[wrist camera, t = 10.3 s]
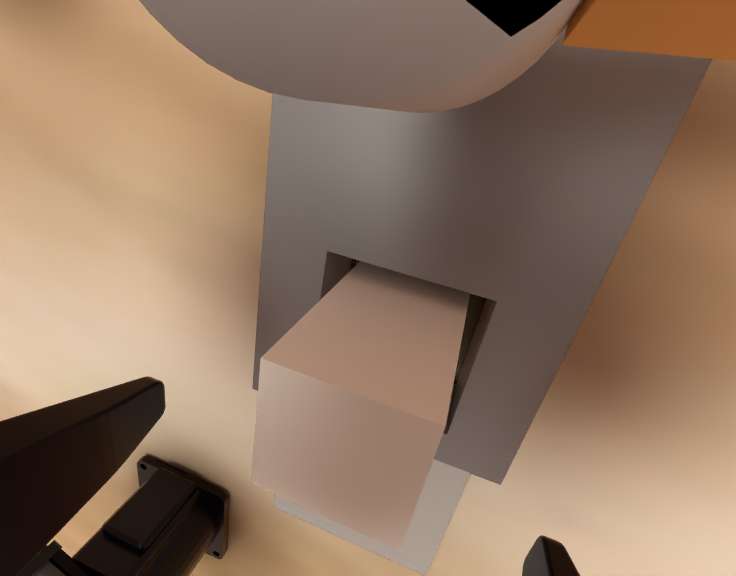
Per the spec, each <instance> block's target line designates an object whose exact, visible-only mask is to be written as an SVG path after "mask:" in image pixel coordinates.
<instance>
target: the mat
mask: <svg viewBox="0 0 736 576" xmlns="http://www.w3.org/2000/svg"><path fill="white" fill-rule="evenodd" d="M470 474H471V473H469V472H466V471H463V470H461V469H458V468H456V467H453V466H451V465H448V464H445V463H443V462H440V461H438V460H435V459H433V462H432V465H431V468H430V470H429V473H428V476H427V478H426V481H425V484H424V487H423V489H422V492H421V495H420V497H419V500H418V503H417V506H416V508H415V511H414V514H413V516H412V519H411V522H410V525H409V527H408V530H407V533H406V535H405V538H404V541H403V544H402V546H401V549H400V550H398V549H396V548H394V547H391V546H389V545H387V544H385V543H382V542H380V541H378V540H376V539H373V538H371V537H369V536H367V535H364V534H362V533H360V532H358V531H355V530H353V529H351V528H349V527H346V526H344V525H342V524H340V523H337V522H335V521H333V520H331V519H328V518H326V517H324V516H322V515H319V514H317V513H315V512H313V511H310V510H308V509H306V508H304V507H301V506H299V505H297V504H295V503H292V502H290V501H288V500H286V499H283V498H281V497H279V496H277V495H275V504H274V508H276V509H278V510H281V511H283V512H285V513H287V514H289V515H292V516H294V517H296V518H298V519H301V520H303V521H305V522H307V523H309V524H312V525H314V526H316V527H318V528H320V529H323V530H325V531H327V532H329V533H332V534H334V535H336V536H338V537H340V538H343V539H345V540H347V541H349V542H351V543H354V544H356V545H358V546H360V547H362V548H365V549H367V550H369V551H371V552H374V553H376V554H378V555H380V556H382V557H385V558H387V559H389V560H391V561H393V562H396V563H398V564H400V565H402V566H404V567H407V568H409V569H411V570H413V571H416V572H418V573H420V574H422V575H424V576H426V574H427V572H428V570H429V567H430V565H431V563H432V560H433V558H434V556H435V554H436V551H437V549H438V547H439V544H440V542H441V540H442V538H443V535H444V533H445V531H446V528H447V526H448V524H449V522H450V519H451V517H452V515H453V512H454V510H455V508H456V506H457V503H458V501H459V499H460V496H461V494H462V492H463V490H464V487H465V485H466V483H467V481H468V478H469V476H470Z"/></svg>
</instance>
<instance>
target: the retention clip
mask: <svg viewBox="0 0 736 576" xmlns="http://www.w3.org/2000/svg"><path fill="white" fill-rule="evenodd" d="M140 2H141V3H142V4H143V5H144V6H145V8H146V9H147V10H148V11H149V13H150V14H151V15H152V16H153V17H154V18H155V19H156V20H157V21H158V22H159V23H160V24H161V25H162V26H163V27H164V28H165V29H166V30H167V31H168V32H169V33H170V34H171V35H172V36H173V37H174V38H175V39H177V40H178V41H179V42H180V43H181V44H183V45H184V46H185V47H186V48H188V49H189V50H190V51H192V52H193V53H194V54H196V55H197V56H198V57H200V58H201V59H202V60H204V61H205V62H206V63H208V64H209V65H211V66H213V67H215V68H217V69H218V70H220V71H222V72H224V73H225V74H227V75H229V76H231V77H232V78H234V79H236V80H238V81H241V82H243V83H246V84H248V85H251V86H254V87H256V88H259V89H261V90H264V91H266V92H269V93H274V94H278V95H283V96H288V97H292V98H297V99H301V100H309V101H318V102H326V103H335V104H343V105H352V106H360V107H369V108H377V109H386V110H395V111H403V112H417V113H429V112H441V111H446V110H451V109H455V108H460V107H463V106H466V105H468V104H471V103H474V102H477V101H479V100H482V99H483V98H485V97H487V96H489V95H491V94H493V93H495V92H497V91H499V90H500V89H502V88H503V87H505V86H506V85H508V84H509V83H511V82H512V81H514V80H515V79H517V78H518V77H519V76H520V75H522V74H523V73H524V72H525V71H526V70H527V69H529V68H530V67H531V66H532V65H533V64H534V63H536V62H537V61H538V60H539V59H540V57H541V56H542V55H543V54H544V53H545V52H546V51H547V50H548V49H549V48H550V47H551V46H552V45H553V44H554V42H555V41H556V40H557V39H558V37H559V36H560V35H561V33H562V32H563V31H564V29H565V28H566V27H567V28H566V32H565V35H564V39H563V42H562V45H564V46H575V47H586V48H597V49H609V50H620V51H631V52H642V53H653V54H665V55H676V56H687V57H698V58H709V59H720V60H732V61H736V0H140Z"/></svg>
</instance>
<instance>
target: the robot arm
mask: <svg viewBox="0 0 736 576" xmlns="http://www.w3.org/2000/svg"><path fill="white" fill-rule="evenodd" d="M164 410H165V390H164V384H163V382H161V381H159V380H157V379H154V378H152V377H143V378H140V379H136V380H133V381H130V382H127V383H123V384H120V385H117V386H114V387H110V388H107V389H104V390H101V391H97V392H94V393H91V394H87V395H84V396H81V397H78V398H74V399H71V400H68V401H65V402H61V403H58V404H55V405H52V406H48V407H45V408H42V409H39V410H35V411H32V412H29V413H26V414H22V415H19V416H16V417H13V418H9V419H6V420H3V421H0V576H189V575H190V574H191V572H192V571H193V569H194V568H195V567H196V565H197V564H198V562H199V561H200V559H201V558H202V556H203V555H204V554H205V553H207V554H209V555H211V556H213V557H215V558H217V559H222V558H223V556H224V555H225V553H226V548H227V523H228V496H227V494H226V493H225V492H224V491H222V490H220V489H218V488H215V487H213V486H211V485H209V484H207V483H204V482H202V481H200V480H198V479H196V478H193V477H191V476H189V475H187V474H185V473H183V472H180V471H178V470H176V469H174V468H172V467H169V466H167V465H165V464H163V463H161V462H158V461H156V460H154V459H152V458H150V457H147V456H143V457H142V458H141V459H140V460H139V461H138V462H137V468H138V477H139V486H140V488H139V489H138V490H137V491H136V492H135V493H134V494H133V495H132V496H131V497H130V498H129V499H128V500H127V501H126V502H125V503H124V504H123V505H122V506H121V507H120V508H119V509H118V510H117V511H116V512H115V513H114V514H113V515H112V516H111V517H110V518H109V519H108V520H107V521H106V522H105V523H104V524H103V526H102V527H101V528H100V529H99V531H98V532H97V533H96V534H95V535H94V536H93V537H92V538H91V539H90V540H89V541H88V542H87V543H86V544H85V545H84V546H83V547H82V548H81V549H80V550H79V551H78V552H77V553H76V554H75V555H74V556H73V557H72V558H71V557H70V556H69V555H67V554H66V553H65V552H64V551H63V550H62V549H61V548H62V546H61V545H60V544H59V543H57V542H56V541H55V540H54V541H53V542H52V543H51V544H50V545H48V546H47V544H48V542H49V541H50V540H51V539H52V538H53V537H54V536H55V535H56V534H57V533H58V532H59V531H60V530H61V529H62V528H63V527H64V526H65V525H66V524H67V523H68V522H69V521H70V520H71V519H72V518H73V517H74V515H75V514H76V513H77V512H78V511H79V510H80V509H81V508H82V507H83V506H84V505H85V504H86V503H87V502H88V501H89V500H90V499H91V498H92V497H93V496H94V495H95V494H96V493H97V492H98V491H99V489H100V488H101V487H102V486H103V485H104V484H105V483H106V482H107V481H108V480H109V479H110V478H111V477H112V476H113V475H114V474H115V473H116V471H117V470H118V469H119V468H120V467H121V466H122V465H123V463H124V462H125V461H126V460H127V459H128V457H129V456H130V455H131V454H132V452H133V451H134V450H135V449H136V447H137V446H138V445H139V444H140V442H141V441H142V440H143V439H144V437H145V436H146V435H147V434H148V432H149V431H150V430H151V429H152V428H153V426H154V425H155V424H156V423H157V421H158V420H159V419H160V418H161V416H162V414H163V413H164ZM522 576H580V574H579V573H578V571H577V569H576V567H575V565H574V563H573V562H572V560H571V558H570V556H569V554H568V552H567V550H566V549H565V547H564V546H563V545H562V544H561V543H560V542H558V541H556V540H553V539H551V538H548V537H546V536H539V537H538V538H537V540H536V542H535V543H534V545H533V546H532V548H531V550H530V551H529V553H528V555H527V556H526V558H525V561H524V565H523V572H522Z"/></svg>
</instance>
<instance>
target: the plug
mask: <svg viewBox="0 0 736 576" xmlns="http://www.w3.org/2000/svg"><path fill="white" fill-rule="evenodd" d="M469 297H470V293H467V292H464V291H460V290H457V289H453V288H450V287H447V286H443V285H440V284H437V283H433V282H430V281H426V280H423V279H420V278H416V277H413V276H410V275H406V274H403V273H399V272H396V271H393V270H389V269H386V268H383V267H379V266H376V265H373V264H369V263H366V262H362V261H360V262H359V263H358V264H357V265H356V266H355V267H354V268H353V269H352V270H351V271H350V272H349V273H348V274H346V275H345V276H344V277H343V278H342V279H341V280H340V281H339V282H338V283H337V284H336V285H335V286H334V287H333V288H332V289H331V290H330V291H329V292H328V293H327V294H326V295H325V296H324V297H323V298H322V299H321V300H320V301H319V302H318V303H317V304H316V305H315V306H314V307H313V308H312V309H311V310H310V311H308V312H307V313H306V314H305V315H304V316H303V317H302V318H301V319H300V320H299V321H298V322H297V323H296V324H295V325H294V326H293V327H292V328H291V329H290V330H289V331H288V332H287V333H286V334H285V335H284V336H283V337H282V338H281V339H280V340H279V341H278V342H277V343H276V344H275V345H274V346H273V347H272V348H271V349H269V350H268V351H267V352H266V353H265V354H264V355H263V356H262V357H261V360H260V373H259V385H258V398H257V411H256V424H255V437H254V450H253V463H252V476H251V484H252V485H254V486H256V487H259V488H261V489H263V490H265V491H268V492H270V493H272V494H274V495H277V496H279V497H281V498H283V499H286V500H288V501H290V502H292V503H295V504H297V505H299V506H301V507H304V508H306V509H308V510H310V511H313V512H315V513H317V514H319V515H322V516H324V517H326V518H328V519H331V520H333V521H335V522H337V523H340V524H342V525H344V526H346V527H349V528H351V529H353V530H355V531H358V532H360V533H362V534H364V535H367V536H369V537H371V538H373V539H376V540H378V541H380V542H382V543H385V544H387V545H389V546H391V547H394V548H396V549H398V550H400V549H401V546H402V544H403V541H404V538H405V535H406V533H407V530H408V527H409V525H410V522H411V519H412V516H413V514H414V511H415V508H416V506H417V503H418V500H419V497H420V495H421V492H422V489H423V487H424V484H425V481H426V478H427V476H428V473H429V470H430V468H431V465H432V462H433V459H434V457H435V454H436V451H437V449H438V446H439V443H440V440H441V438H442V435H443V432H444V429H445V427H446V422H447V416H448V411H449V405H450V400H451V395H452V389H453V384H454V378H455V373H456V368H457V362H458V357H459V351H460V346H461V341H462V335H463V330H464V324H465V319H466V314H467V308H468V303H469Z"/></svg>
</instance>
